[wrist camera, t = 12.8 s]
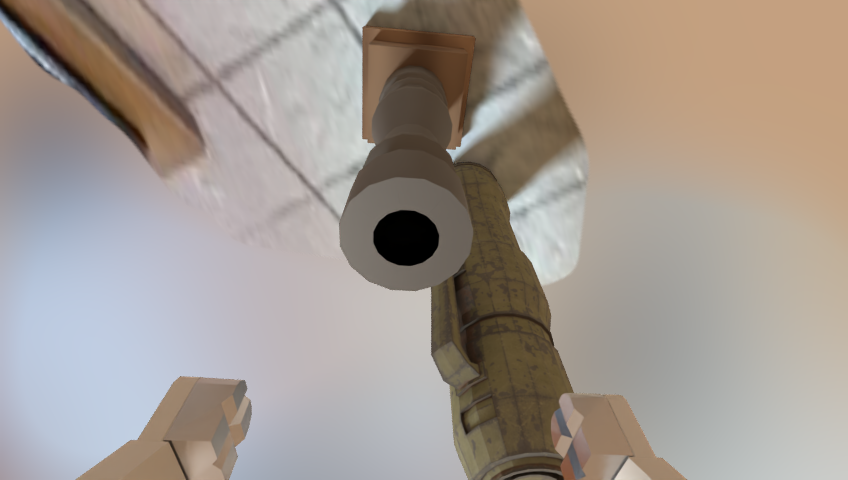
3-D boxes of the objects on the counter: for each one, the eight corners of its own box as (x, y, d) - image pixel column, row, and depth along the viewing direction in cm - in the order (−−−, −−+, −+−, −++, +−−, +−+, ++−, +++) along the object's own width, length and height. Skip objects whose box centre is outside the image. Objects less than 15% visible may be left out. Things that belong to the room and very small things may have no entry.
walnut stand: (364, 133, 45) (357, 151, 40) (365, 25, 40) (357, 30, 34) (458, 141, 46) (463, 159, 41) (473, 36, 40) (480, 42, 35)
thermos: (446, 140, 46) (497, 409, 16) (522, 191, 50) (675, 486, 20) (405, 196, 50) (387, 497, 20) (479, 240, 53) (553, 548, 24)
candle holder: (406, 49, 35) (388, 137, 14) (458, 94, 37) (510, 227, 16) (368, 105, 38) (304, 250, 17) (419, 144, 40) (419, 315, 19)
